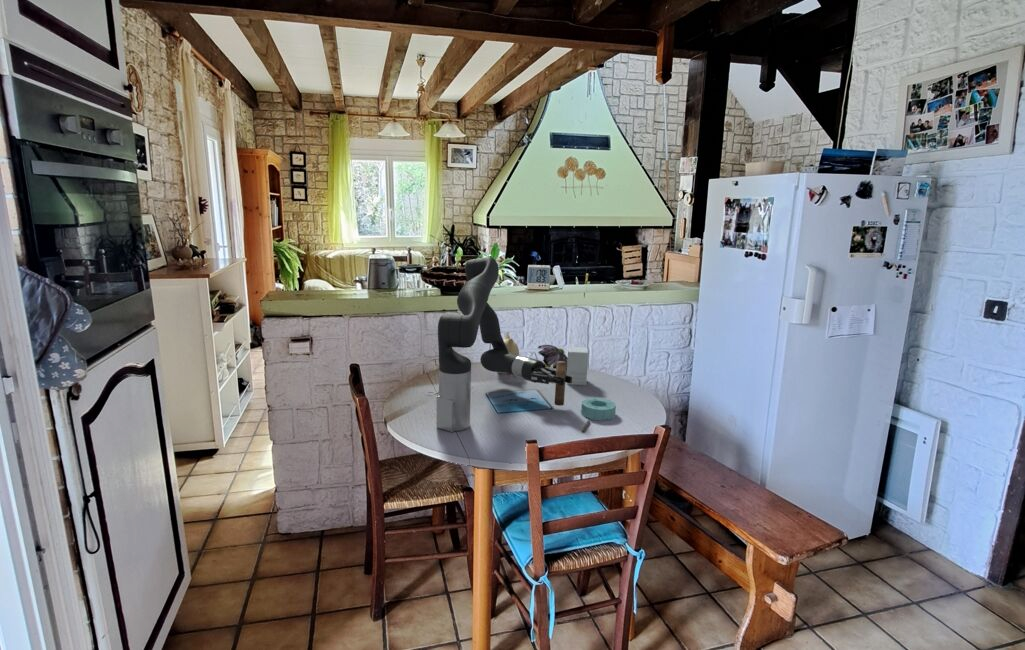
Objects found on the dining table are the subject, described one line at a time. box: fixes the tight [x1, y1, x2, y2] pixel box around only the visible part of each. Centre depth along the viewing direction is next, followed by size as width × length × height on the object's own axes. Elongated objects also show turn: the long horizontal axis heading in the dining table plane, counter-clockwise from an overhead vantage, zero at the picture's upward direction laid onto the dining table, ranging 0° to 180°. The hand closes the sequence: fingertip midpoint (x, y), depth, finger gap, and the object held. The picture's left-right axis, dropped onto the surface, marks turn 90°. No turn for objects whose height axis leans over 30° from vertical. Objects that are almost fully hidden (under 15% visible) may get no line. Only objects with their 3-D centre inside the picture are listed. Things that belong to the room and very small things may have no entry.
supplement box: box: [566, 346, 589, 386], centre depth 207 cm, size 7×7×13 cm
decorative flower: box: [537, 344, 568, 371], centre depth 219 cm, size 15×12×15 cm
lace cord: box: [581, 419, 591, 433], centre depth 167 cm, size 8×1×1 cm, turn 160°
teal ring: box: [580, 397, 617, 421], centre depth 177 cm, size 10×10×4 cm
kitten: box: [496, 332, 520, 375], centre depth 216 cm, size 15×10×15 cm
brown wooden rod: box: [554, 361, 567, 407], centre depth 179 cm, size 3×3×14 cm
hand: (567, 381), depth 177 cm, fingers closed on brown wooden rod, 3 cm apart
